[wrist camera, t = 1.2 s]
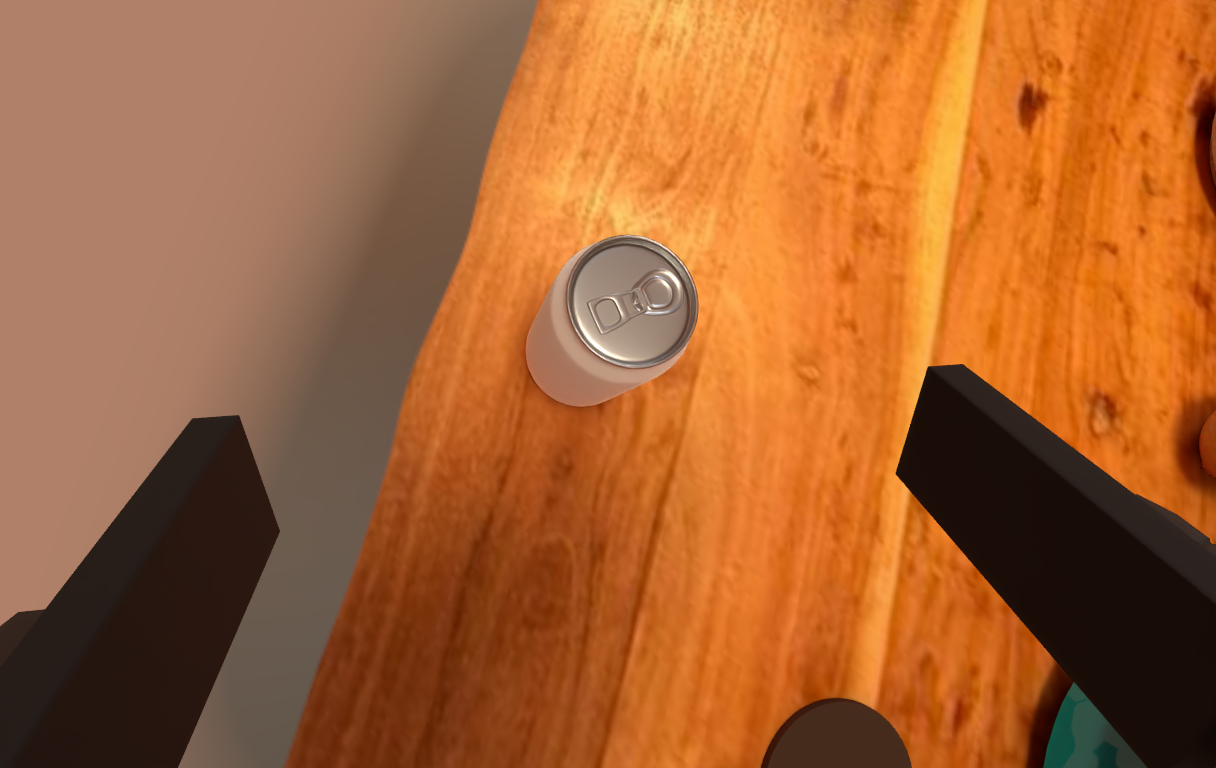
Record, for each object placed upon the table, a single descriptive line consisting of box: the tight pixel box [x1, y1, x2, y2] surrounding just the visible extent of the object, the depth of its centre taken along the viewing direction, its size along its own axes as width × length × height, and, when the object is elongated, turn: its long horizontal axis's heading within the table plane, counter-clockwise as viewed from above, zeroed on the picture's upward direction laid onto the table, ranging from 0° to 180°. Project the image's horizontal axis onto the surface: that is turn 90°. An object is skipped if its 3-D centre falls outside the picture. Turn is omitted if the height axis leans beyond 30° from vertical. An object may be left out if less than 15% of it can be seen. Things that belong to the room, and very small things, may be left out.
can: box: [526, 235, 698, 407], centre depth 31 cm, size 6×6×12 cm
